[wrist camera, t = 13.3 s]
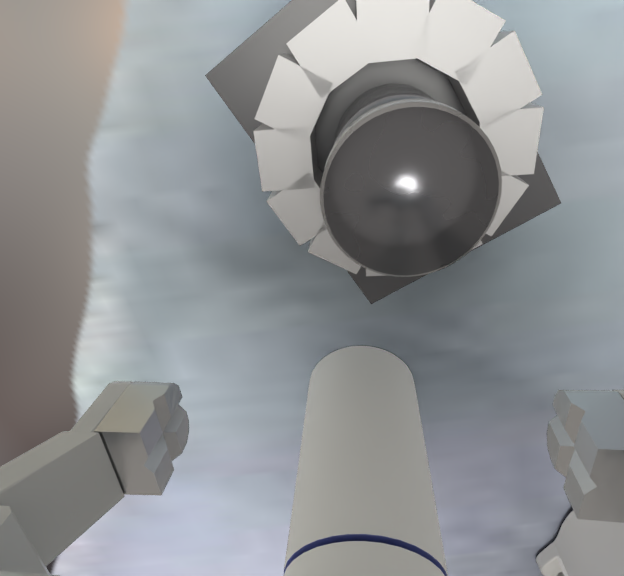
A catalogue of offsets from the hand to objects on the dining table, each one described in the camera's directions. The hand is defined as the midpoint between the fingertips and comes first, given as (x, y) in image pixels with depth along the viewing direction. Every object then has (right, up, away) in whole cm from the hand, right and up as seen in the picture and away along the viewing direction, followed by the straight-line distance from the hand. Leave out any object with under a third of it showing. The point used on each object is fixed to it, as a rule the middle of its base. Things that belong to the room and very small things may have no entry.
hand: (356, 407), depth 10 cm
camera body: (+2, +11, +12) cm, 16 cm away
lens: (+2, +8, +8) cm, 11 cm away
